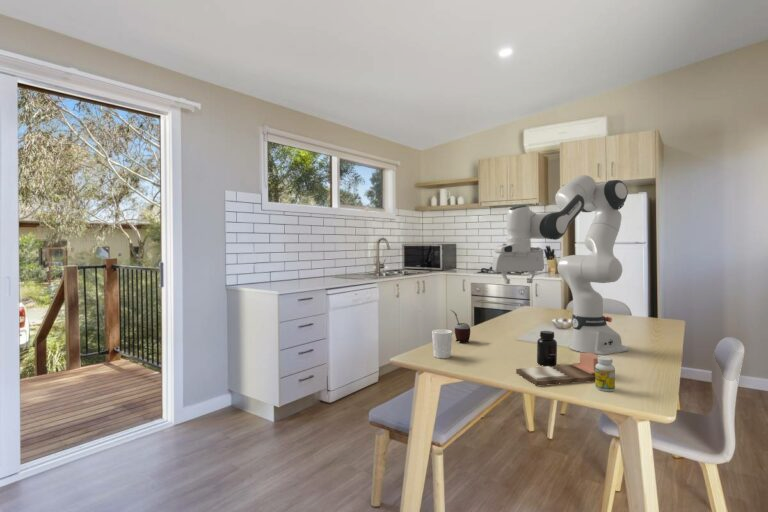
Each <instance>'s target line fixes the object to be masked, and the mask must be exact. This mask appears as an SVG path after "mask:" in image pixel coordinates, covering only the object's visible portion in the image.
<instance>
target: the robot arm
mask: <svg viewBox="0 0 768 512" xmlns="http://www.w3.org/2000/svg"><path fill="white" fill-rule="evenodd" d="M628 192H629V191H628V187H627V185H626V184H625V183H624V182H623V181H622V180H620V179H613V180H612V179H611V180H608V181H605V182H600V183H596V181H595V179H594V178H593V177H591V176H590V175H588V174H582V175H579V176H577V177H574V178H573V179H571V180H570V181H567V183H565V184H564V185H562V187H560V188H559V189H558V190H557V191H556V194H555V196H554V198H555V204H556V205H557V207H558V209H560V210H558V211H556V212H549V213H548V212H547V213H536V212H534V211H532V210H531V208H530V206H529V205H526V204H523V205H521V204H520V205H515V206H511V207H510V208H509V209H508V210H507V215H506V233H507V237H506V242H505V243H503V244H499V245H498V246H495V247H494V249H493V250H494V254H493V256H492V263H491V264H492V265H491V266H492V267H491V268H492V270H493V272H494V273H500V274H501V277H502V278H503V279H504V280H503V281H504V282H503V283H504V284H505V285H509V284H511V279H510V278H508V273H513V272H515V273H516V272H517V273H518V272H519V273H520V272H522V273H523V272H529V273H528V274H529V276H528V277H526V283H527V284H532V283H534V282H533V279H534V277H535V276H536V272H543V271H544V269H545V260H544V259H545V258H544V250H543V249H542V248H540V247H539V246H536V247H534V246H531V240H534V239H537V240H540V239H541V240H555V241H557V240H559V239H561V238H563V237H564V236H565V234H566V232H567V230H568V228H569V226H570V225H571V224H572V222H573V221H575V219H576V218H577V216H579V215H580V213H581V212H582V213H592V212H595V213H594V214H595V215H594V218H593V220H592V222H591V224H590V226H589V229H588V231H587V234H586V235H585V238H584V245H585V247H586V248H587V250H589V251H590V252H591V253H590V254H587V255H585V254H572V255H565V256H562V257H561V258H560V259H559V261H558V264H557V272H558V274H559V277H561V278H562V279H563V280H564V281H565V282H566V283H567V285H568V287H569V288H570V289H569V290H570V291H571V296H572V303H573V304H572V305H573V306H572V307H573V311H572V312H573V313H572V315H571V316H572V317H571V322H572V331H571V339H570V342H569V345H568V348H569V349H570V350H573V351H577V352H580V353H588V352H591V353H593V354H596V355H600V356H604V355H610V354H616V353H623V352H628V351H629V348H628V347H627V346H626V345H623V344H622V338H621V335H620V333H618V332H617V331H615V330H614V329H613V328H611V327H610V326H609V325H607V322H608V323H612V321H613V317H611V316H604V299H603V296H602V295H601V294H600V293H599V292H598V291H596V290H595V289H594V288H593V286H592V284H591V283H597V284H598V283H599V284H609V283H615V282H617V281H618V280H619V279H620V278H621V276H622V273H623V265H622V263H621V262H620V260H619V259H618V258H617V257H616V256H615V255H614V246H615V243H616V240H617V238H618V235H619V231H620V228H621V223H622V213H621V211H619V210H621V209H622V208H623V207H624V205H625V202H626V201H627V198H628Z"/></svg>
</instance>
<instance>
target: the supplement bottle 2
mask: <svg viewBox="0 0 768 512" xmlns="http://www.w3.org/2000/svg"><path fill="white" fill-rule="evenodd" d="M598 362H599V363H598V364H596V366H595V381H594V383H595V386H594V387H595V388H596V390H598V391H600V392H607V393H608V392H610V393H612V392H614V391H615V390H616V367H615V366H614V365H613V358H611V357H609V356H601V357H598Z"/></svg>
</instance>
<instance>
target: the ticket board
mask: <svg viewBox="0 0 768 512" xmlns="http://www.w3.org/2000/svg"><path fill="white" fill-rule="evenodd" d="M515 371H516V372H515V373H516V374H517V375H518V374H519V375H518V376H520V377H521V376H522V378H523V379H525V380H526V381H527V382H529V383H531V384H532V383H533V384H532V385H534V384H535V385H534V386H536V387H538V386H537V385H544V386H548V385H547V384H555V385H560V384H559V383H567V384H573V383H572V382H579V383H587V381H590V382H595V374H590V373H588V372H585V371H583V370H581V369H579V368H577V367H575V366H573V365H572V364H562V365H561V364H560V365H555V366H535V367H534V366H533V367H521V368H516V369H515Z"/></svg>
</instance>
